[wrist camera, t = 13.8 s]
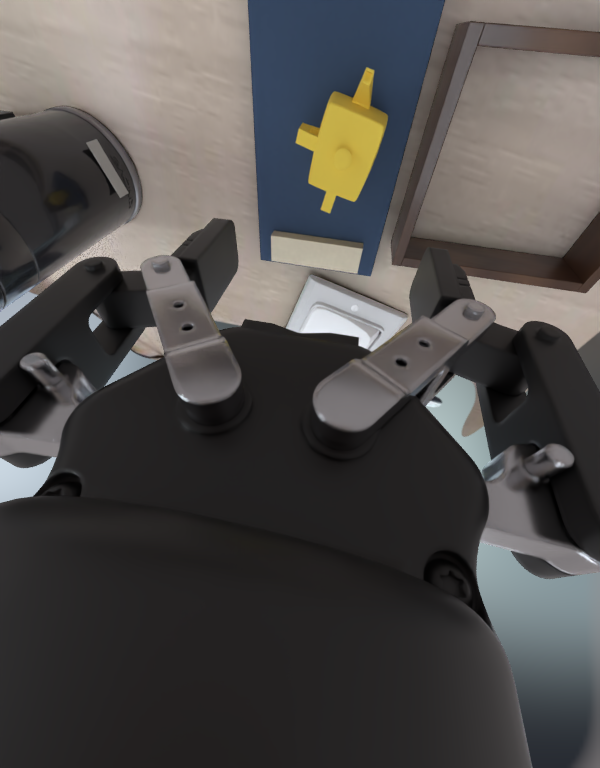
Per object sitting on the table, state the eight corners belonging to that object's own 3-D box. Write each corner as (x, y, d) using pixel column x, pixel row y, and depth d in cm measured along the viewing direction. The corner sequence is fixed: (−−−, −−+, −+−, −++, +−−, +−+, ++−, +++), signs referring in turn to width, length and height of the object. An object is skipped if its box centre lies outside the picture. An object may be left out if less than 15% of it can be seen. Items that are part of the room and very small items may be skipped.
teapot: (324, 42, 19) (312, 43, 16) (404, 79, 19) (408, 87, 16) (293, 179, 25) (279, 200, 22) (354, 204, 26) (350, 228, 22)
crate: (390, 242, 29) (391, 264, 26) (456, 24, 18) (470, 21, 15) (565, 267, 27) (586, 293, 25) (744, 48, 17) (817, 50, 14)
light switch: (362, 385, 41) (276, 356, 38) (362, 364, 43) (281, 335, 41) (411, 333, 32) (306, 291, 30) (407, 311, 35) (310, 270, 32)
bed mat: (263, 254, 32) (257, 265, 30) (249, -86, 16) (235, -98, 15) (370, 270, 31) (370, 282, 30) (462, -73, 16) (470, -84, 14)
